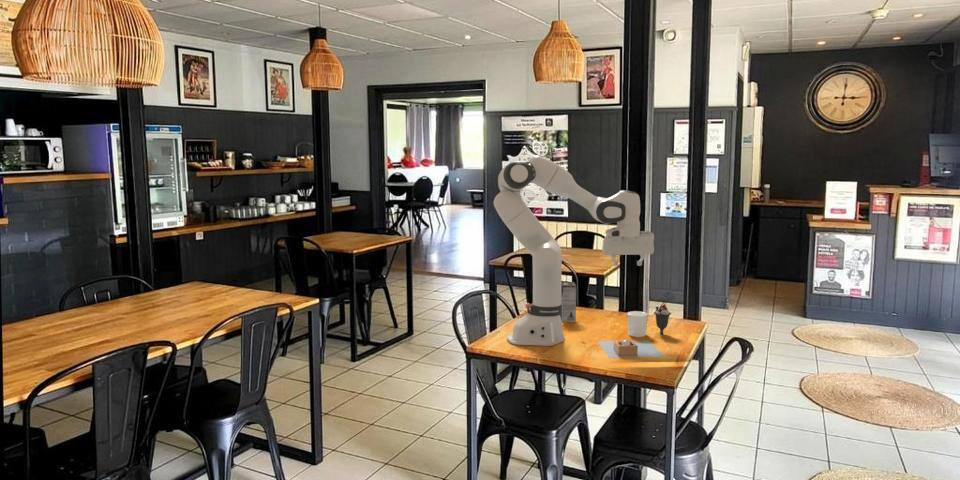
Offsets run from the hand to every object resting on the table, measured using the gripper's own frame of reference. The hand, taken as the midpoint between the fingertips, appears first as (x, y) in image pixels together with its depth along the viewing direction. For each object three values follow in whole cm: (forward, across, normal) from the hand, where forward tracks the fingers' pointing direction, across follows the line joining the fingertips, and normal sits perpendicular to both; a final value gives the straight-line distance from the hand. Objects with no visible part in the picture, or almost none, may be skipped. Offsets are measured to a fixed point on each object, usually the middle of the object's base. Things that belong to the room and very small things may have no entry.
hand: (627, 265), depth 264 cm
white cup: (+28, -3, +6) cm, 29 cm away
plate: (+28, +5, +25) cm, 38 cm away
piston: (+27, +8, +30) cm, 41 cm away
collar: (+26, +8, +30) cm, 41 cm away
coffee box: (+28, +20, -25) cm, 42 cm away
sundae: (+28, -13, +6) cm, 32 cm away
